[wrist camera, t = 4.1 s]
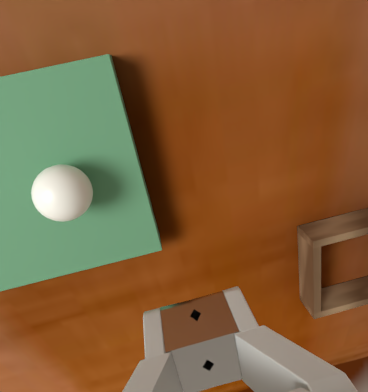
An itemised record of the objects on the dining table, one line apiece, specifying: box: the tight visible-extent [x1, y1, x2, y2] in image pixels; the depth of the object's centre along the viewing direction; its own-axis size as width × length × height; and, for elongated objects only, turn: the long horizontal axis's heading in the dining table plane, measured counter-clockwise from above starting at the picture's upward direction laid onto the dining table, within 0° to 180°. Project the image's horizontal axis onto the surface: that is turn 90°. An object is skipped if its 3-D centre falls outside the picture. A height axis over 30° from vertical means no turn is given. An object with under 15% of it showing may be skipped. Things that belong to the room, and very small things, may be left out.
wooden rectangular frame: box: [297, 208, 368, 319], centre depth 32 cm, size 13×10×3 cm
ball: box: [31, 164, 93, 222], centre depth 21 cm, size 4×4×4 cm
